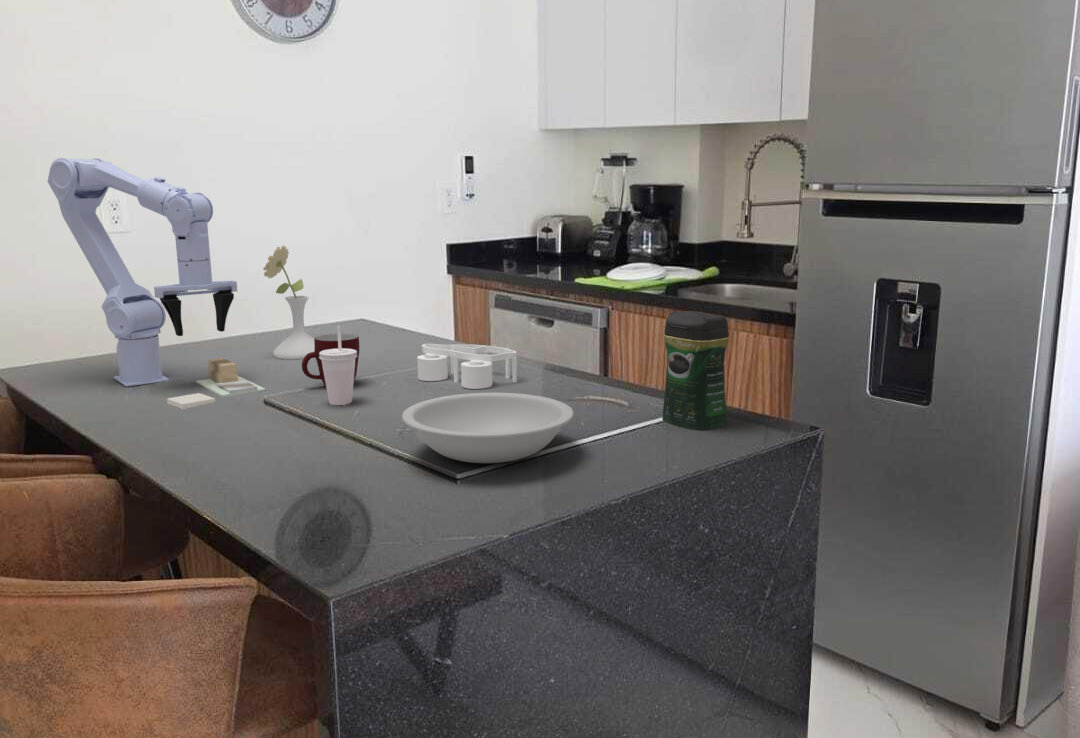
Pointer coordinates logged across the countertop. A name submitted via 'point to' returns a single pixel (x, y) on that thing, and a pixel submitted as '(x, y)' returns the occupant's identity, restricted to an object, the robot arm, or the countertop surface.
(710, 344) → the coffee jar
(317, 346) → the mug
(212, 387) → the mat
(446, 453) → the soup bowl
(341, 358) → the smoothie
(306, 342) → the flower in vase
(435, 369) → the white rack with cylinders
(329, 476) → the countertop surface
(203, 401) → the tile
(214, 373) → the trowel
